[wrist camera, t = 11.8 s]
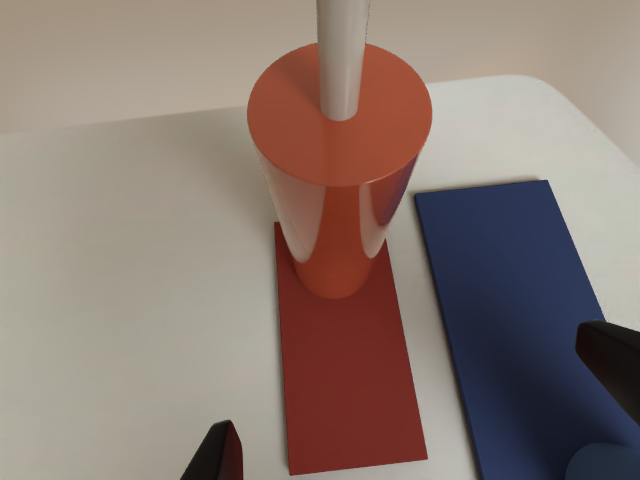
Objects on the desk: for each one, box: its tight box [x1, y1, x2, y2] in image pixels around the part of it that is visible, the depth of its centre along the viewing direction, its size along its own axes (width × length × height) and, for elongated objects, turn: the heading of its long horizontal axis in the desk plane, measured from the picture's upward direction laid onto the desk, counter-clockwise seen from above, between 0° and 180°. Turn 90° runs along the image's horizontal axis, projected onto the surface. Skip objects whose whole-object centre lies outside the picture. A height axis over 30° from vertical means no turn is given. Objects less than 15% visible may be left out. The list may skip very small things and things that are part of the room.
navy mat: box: [414, 180, 640, 480], centre depth 19 cm, size 20×9×1 cm, turn 6°
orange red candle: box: [247, 0, 432, 299], centre depth 13 cm, size 5×5×16 cm
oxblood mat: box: [274, 222, 428, 476], centre depth 20 cm, size 14×7×1 cm, turn 6°
